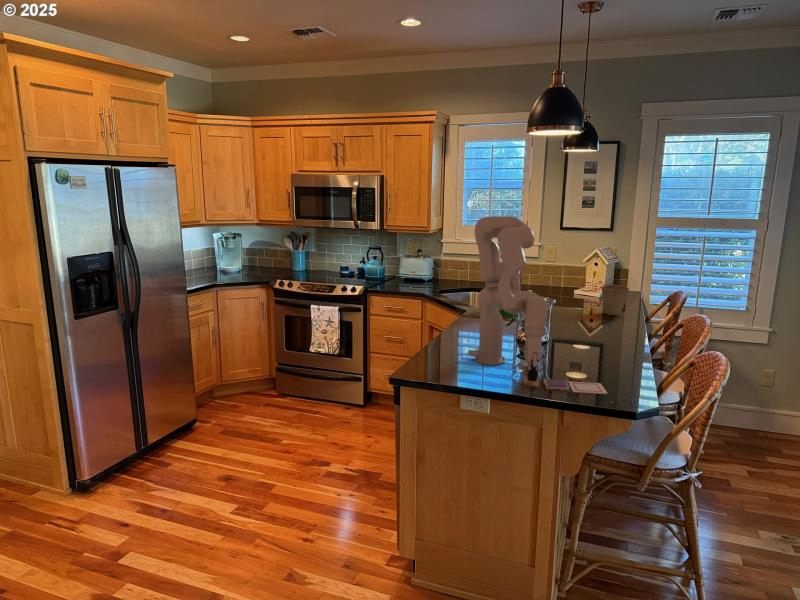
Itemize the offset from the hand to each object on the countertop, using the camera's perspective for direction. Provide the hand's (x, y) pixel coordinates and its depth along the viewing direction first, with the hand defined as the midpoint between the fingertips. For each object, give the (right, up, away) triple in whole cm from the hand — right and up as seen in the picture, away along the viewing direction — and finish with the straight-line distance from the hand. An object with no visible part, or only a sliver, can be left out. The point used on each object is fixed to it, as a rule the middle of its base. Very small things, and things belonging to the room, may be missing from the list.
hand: (531, 377), depth 194 cm
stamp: (0, -3, +1) cm, 3 cm away
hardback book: (+10, +20, +109) cm, 111 cm away
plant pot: (+76, +20, +114) cm, 138 cm away
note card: (+20, -3, -2) cm, 20 cm away
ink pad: (+9, -3, 0) cm, 9 cm away
